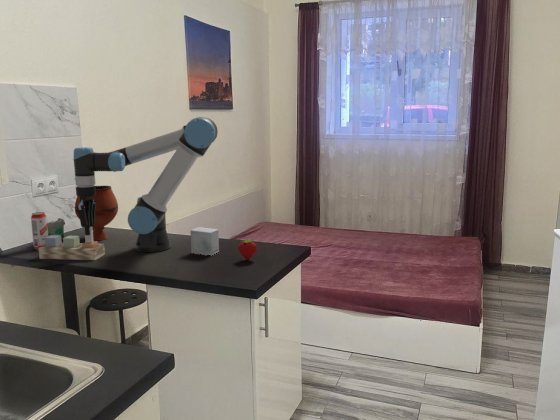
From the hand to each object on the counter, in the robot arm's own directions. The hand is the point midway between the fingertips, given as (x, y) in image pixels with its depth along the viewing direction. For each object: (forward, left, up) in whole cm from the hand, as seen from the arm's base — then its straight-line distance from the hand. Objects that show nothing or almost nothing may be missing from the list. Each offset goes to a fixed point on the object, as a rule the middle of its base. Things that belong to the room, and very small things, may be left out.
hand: (89, 242), depth 208 cm
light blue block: (+16, 0, -2) cm, 16 cm away
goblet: (+11, -31, -7) cm, 33 cm away
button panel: (+8, 0, -6) cm, 10 cm away
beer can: (+28, -11, -7) cm, 30 cm away
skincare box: (-46, -11, -7) cm, 48 cm away
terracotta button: (0, 0, -4) cm, 4 cm away
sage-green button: (+8, 0, -2) cm, 8 cm away
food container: (+27, -23, -7) cm, 36 cm away
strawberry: (-66, -2, -7) cm, 67 cm away
